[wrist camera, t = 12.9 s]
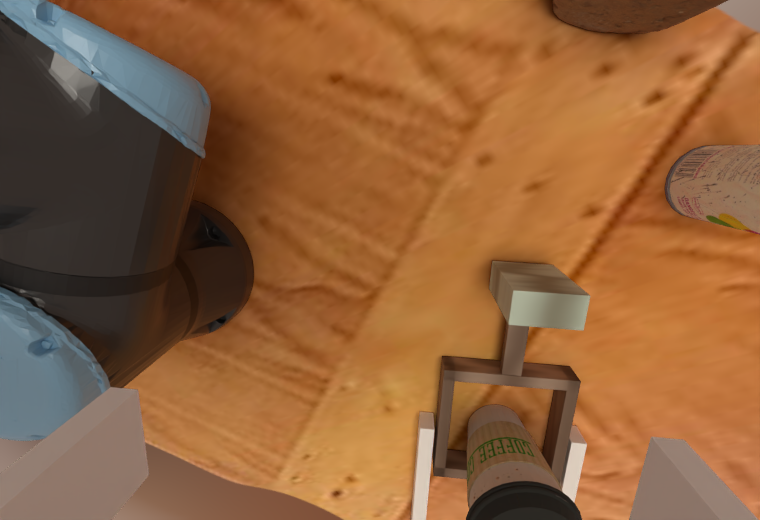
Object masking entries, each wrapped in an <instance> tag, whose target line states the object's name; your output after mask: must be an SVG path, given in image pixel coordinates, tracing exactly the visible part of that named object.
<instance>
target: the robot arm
mask: <svg viewBox="0 0 760 520" xmlns="http://www.w3.org/2000/svg"><path fill="white" fill-rule="evenodd" d="M210 113H211V103H210V99H209V96H208V93H207V92H206V90H205V88H204V87H203V86H202V85H201V84H200V82H198V81H197V80H196V79H195V78H194V77H192V76H190V75H189V74H187V73H185V72H184V71H182V70H180V69H178V68H176V67H175V66H173V65H171V64H169V63H167V62H165V61H164V60H162V59H160V58H158V57H156V56H154V55H152V54H151V53H149V52H147V51H145V50H143V49H141V48H139V47H137V46H135V45H134V44H132V43H130V42H128V41H126V40H124V39H122V38H120V37H118V36H116V35H114V34H112V33H110V32H109V31H107V30H105V29H103V28H101V27H99V26H97V25H95V24H93V23H91V22H89V21H87V20H85V19H83V18H81V17H79V16H77V15H75V14H73V13H71V12H69V11H66V10H64V9H63V8H61V7H59V6H57V5H55V4H53V3H51V2H49V1H47V0H0V438H3V439H8V440H18V441H19V440H20V441H30V440H40V439H44V438H45V439H44V440H43V441H41V442H40V443H39V444H37V445H36V446H35V447H33V448H32V449H31V450H30V451H28V452H27V453H26V454H25V455H23V456H22V457H21V458H19V459H18V460H17V461H15V462H14V463H13V464H12V465H10V466H9V467H8V468H7V469H5V470H4V471H3V472H1V473H0V520H112V519H113V518H114V517H115V516H116V515H117V513H118V512H119V511H120V510H121V508H122V507H123V506H124V505H125V504H126V502H127V501H128V500H129V499H130V497H131V496H132V495H133V494H134V493H135V491H136V490H137V489H138V488H139V486H140V485H141V484H142V483H143V481H144V480H145V479H146V478H147V477H148V475H149V470H148V463H147V455H146V447H145V440H144V432H143V424H142V416H141V409H140V401H139V393H138V390H136V389H125V388H123V387H124V386H126V385H127V384H128V383H129V382H131V381H132V380H133V379H134V378H135V377H137V376H138V375H139V374H140V373H141V372H143V371H144V370H145V369H146V368H147V367H149V366H150V365H151V364H152V363H154V362H155V361H156V360H157V359H158V358H160V357H161V356H162V355H163V354H164V353H166V352H167V351H168V350H169V349H171V348H172V347H173V346H174V345H175V344H177V343H178V342H179V341H182V340H186V339H190V338H194V337H198V336H202V335H206V334H209V333H211V332H213V331H216V330H217V329H219V328H221V327H223V326H224V325H225V324H227V323H228V322H229V321H230V320H231V319H232V318H233V317H234V316H236V315H237V314H238V313H239V312H240V311H241V309H242V308H243V307H244V305H245V304H246V302H247V300H248V298H249V296H250V293H251V290H252V285H253V277H254V271H253V262H252V258H251V254H250V251H249V248H248V246H247V244H246V242H245V240H244V238H243V237H242V235H241V233H240V232H239V231H238V229H237V228H236V227H235V226H234V225H233V224H232V223H231V221H230V220H228V219H227V218H226V217H225V216H224V215H222V214H221V213H220V212H218V211H217V210H215V209H213V208H211V207H209V206H207V205H205V204H203V203H200V202H196V201H193V200H191V199H192V196H193V192H194V188H195V184H196V180H197V176H198V172H199V168H200V164H201V161H202V158H204V159H205V155H206V153H205V150H204V144H205V139H206V134H207V129H208V123H209V118H210ZM629 520H758V519H757V518H756V517H755V516H754V514H753V513H752V512H751V511H750V510H749V509H748V508H747V507H746V506H745V505H744V504H743V503H742V502H741V501H740V499H739V498H738V497H737V496H736V495H735V494H734V493H733V492H732V491H731V490H730V489H729V488H728V487H727V486H726V484H725V483H724V482H723V481H722V480H721V479H720V478H719V477H718V476H717V475H716V474H715V473H714V472H713V470H712V469H711V468H710V467H709V466H708V465H707V464H706V463H705V462H704V461H703V460H702V459H701V458H700V457H699V455H698V454H697V453H696V452H695V451H694V450H693V449H692V448H691V447H690V446H689V445H688V444H687V443H686V441H685V440H680V439H670V438H659V437H651V439H650V443H649V447H648V451H647V454H646V458H645V462H644V466H643V469H642V473H641V477H640V481H639V484H638V488H637V492H636V496H635V499H634V503H633V507H632V511H631V514H630V518H629Z"/></svg>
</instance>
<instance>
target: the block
mask: <svg viewBox="0 0 760 520" xmlns="http://www.w3.org/2000/svg"><path fill="white" fill-rule="evenodd" d="M726 1H728V0H553V12H554V13H555V14H556V15H557V17H558V18H559V19H561V20H563V21H564V22H566V23H569V24H572V25H574V26H577V27H581V28H583V29H586V30H591V31H599V32H614V33H636V34H643V33H648V32H653V31H660V30H663V29H666V28H669V27H671V26H674V25H676V24H679V23H681V22H683V21H685V20H687V19H689V18H692V17H694V16H696V15H698V14H701V13H703V12H705V11H707V10H709V9H711V8H713V7H715V6H718V5H720V4H721V3H723V2H726Z"/></svg>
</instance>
